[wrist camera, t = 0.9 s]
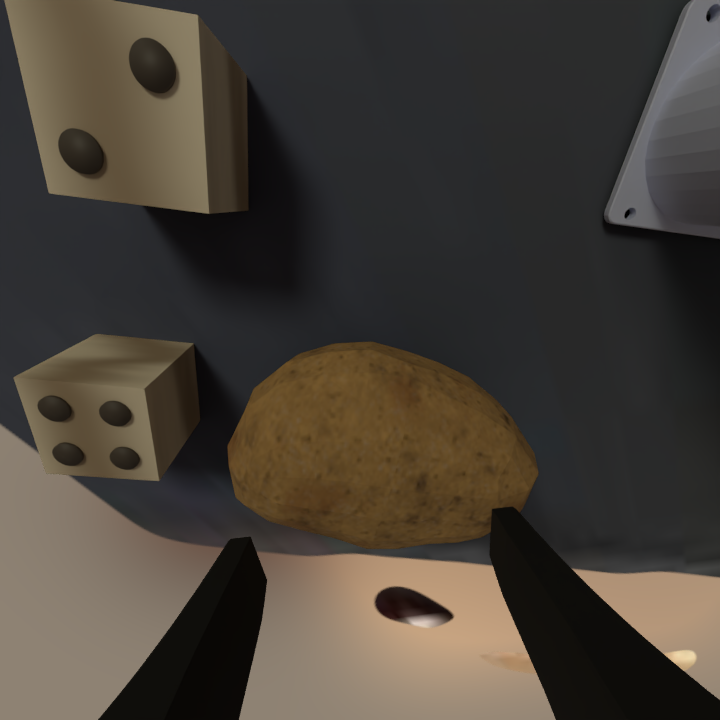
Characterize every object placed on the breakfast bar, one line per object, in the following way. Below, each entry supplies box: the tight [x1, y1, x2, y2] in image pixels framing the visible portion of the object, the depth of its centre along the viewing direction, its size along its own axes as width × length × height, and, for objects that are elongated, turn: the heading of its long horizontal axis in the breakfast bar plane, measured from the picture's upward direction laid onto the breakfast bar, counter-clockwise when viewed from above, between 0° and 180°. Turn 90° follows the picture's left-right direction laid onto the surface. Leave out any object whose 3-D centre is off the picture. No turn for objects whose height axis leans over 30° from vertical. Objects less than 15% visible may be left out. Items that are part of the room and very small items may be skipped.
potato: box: [228, 342, 539, 549], centre depth 17 cm, size 10×14×8 cm
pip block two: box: [5, 0, 249, 214], centre depth 12 cm, size 5×5×5 cm
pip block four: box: [13, 334, 200, 481], centre depth 17 cm, size 5×5×5 cm
